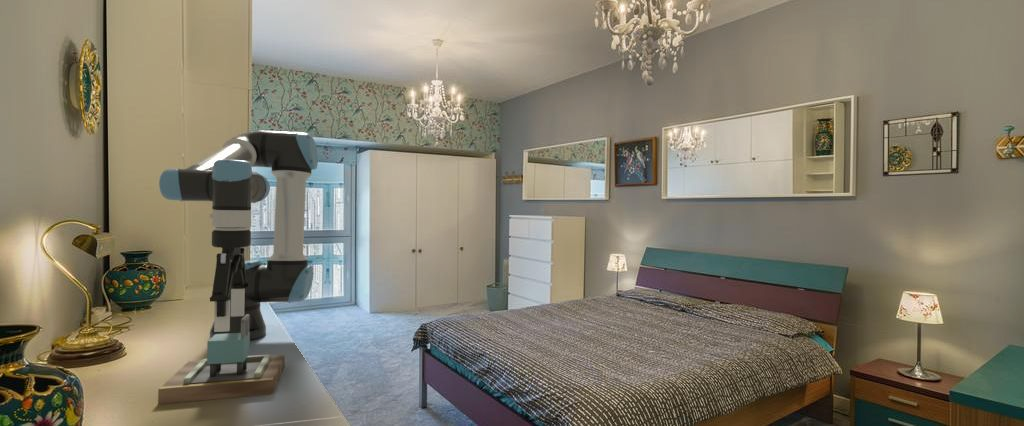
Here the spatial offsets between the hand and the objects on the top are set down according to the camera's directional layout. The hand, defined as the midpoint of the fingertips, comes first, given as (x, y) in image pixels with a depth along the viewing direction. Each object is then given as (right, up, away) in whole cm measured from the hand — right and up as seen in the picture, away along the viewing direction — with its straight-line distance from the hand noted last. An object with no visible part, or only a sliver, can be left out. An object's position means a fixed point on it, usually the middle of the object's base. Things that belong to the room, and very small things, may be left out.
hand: (230, 323), depth 106 cm
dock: (-1, -14, +2) cm, 14 cm away
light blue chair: (0, -11, 0) cm, 11 cm away
